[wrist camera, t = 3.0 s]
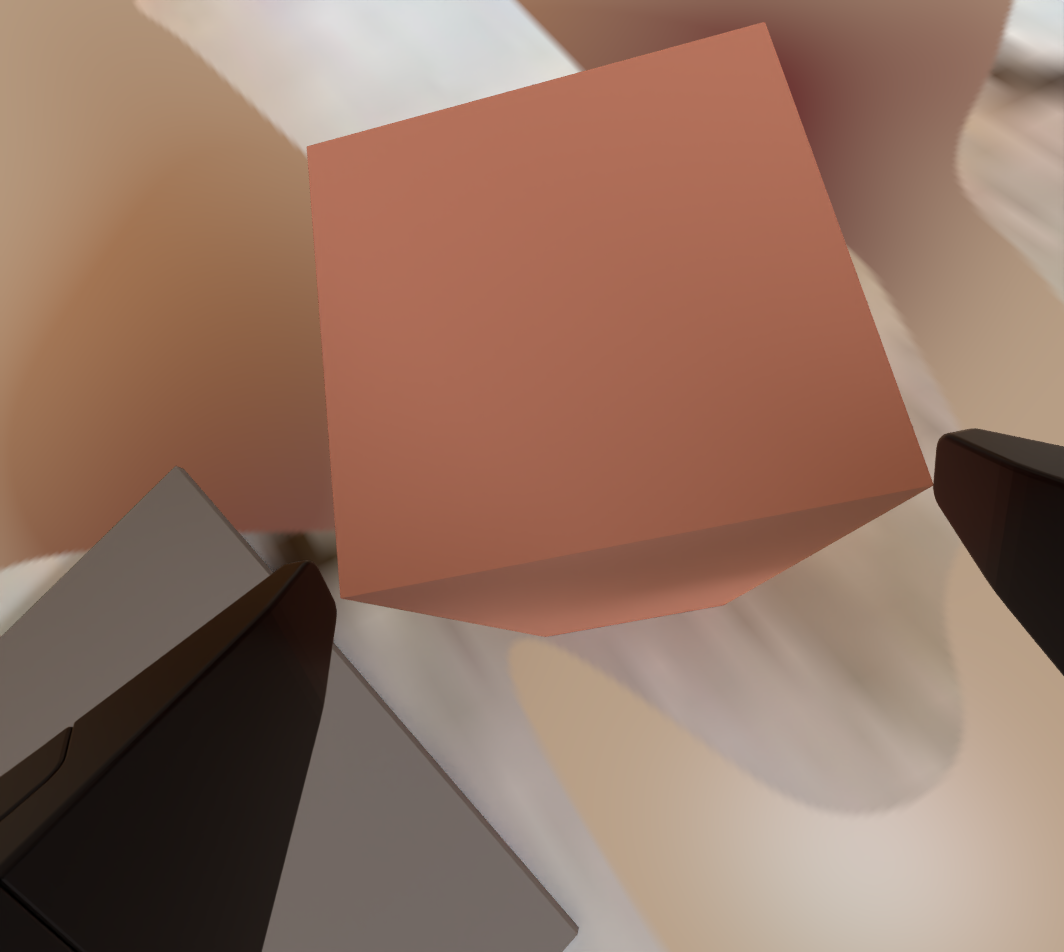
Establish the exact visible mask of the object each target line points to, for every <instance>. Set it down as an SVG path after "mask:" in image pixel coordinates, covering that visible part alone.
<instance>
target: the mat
mask: <svg viewBox="0 0 1064 952" xmlns="http://www.w3.org/2000/svg"><path fill="white" fill-rule="evenodd" d="M272 573H273V572H272V571H271V570H270V569H269V567H268V566H267V565H266V564H265V563H264V562H263V560H262V559H261V558H260V557H259V556H258V555H257V553H256V552H255V551H254V550H253V549H252V548H251V546H250V545H249V544H248V543H247V542H246V541H245V539H244V538H243V537H242V536H241V535H240V534H239V532H238V531H237V530H236V529H235V528H234V527H233V526H232V524H231V523H230V522H229V521H228V520H227V519H226V517H225V516H224V515H223V514H222V513H221V512H220V511H219V509H218V508H217V507H216V506H215V505H214V504H213V502H212V501H211V500H210V499H209V498H208V496H207V495H206V494H205V493H204V492H203V491H202V490H201V488H200V487H199V486H198V485H197V484H196V483H195V481H194V480H193V479H192V478H191V477H190V476H189V475H188V473H187V472H186V471H185V470H184V469H182V468H180V467H177V466H175V467H174V468H173V469H172V470H171V471H170V472H169V473H168V474H167V475H166V476H165V477H164V478H163V479H162V480H161V481H160V482H159V483H158V484H157V485H156V486H155V487H154V488H153V489H152V490H151V491H150V492H149V493H148V494H147V495H145V497H143V498H142V499H141V501H139V503H138V504H136V505H135V506H134V507H133V508H132V509H131V510H130V511H129V512H128V513H127V514H126V515H125V516H124V517H123V518H122V519H121V520H120V521H119V522H118V523H117V524H116V525H115V526H114V527H113V528H112V529H111V530H110V531H109V532H108V533H107V534H106V535H105V536H104V537H103V538H102V539H101V540H100V541H99V542H98V543H97V544H95V545H94V546H93V547H92V548H91V549H90V550H89V551H88V552H87V553H86V554H85V555H84V556H83V557H82V558H81V559H80V560H79V561H78V562H77V563H76V564H75V565H74V566H73V567H72V568H71V569H70V570H69V571H68V572H67V573H66V574H65V575H64V576H63V577H62V578H61V579H60V580H59V581H58V582H57V583H56V584H55V585H54V586H53V587H52V588H51V589H50V590H49V591H47V592H46V593H45V594H44V595H43V596H42V597H41V598H40V599H39V600H38V601H37V602H36V603H35V604H34V605H33V606H32V607H31V608H30V609H29V610H28V611H27V612H26V613H25V614H24V615H23V616H22V617H21V618H20V619H19V620H18V621H17V622H16V623H15V624H14V625H13V626H12V627H11V628H10V629H9V630H8V631H7V632H6V633H5V634H4V635H3V636H2V637H1V638H0V776H2V775H3V774H5V773H6V772H7V771H9V770H10V769H11V768H13V767H14V766H15V765H17V764H18V763H20V762H21V761H22V760H24V759H25V758H26V757H28V756H29V755H30V754H32V753H33V752H35V751H36V750H37V749H39V748H40V747H41V746H43V745H44V744H45V743H47V742H48V741H49V740H51V739H52V738H53V737H55V736H56V735H57V734H59V733H60V732H61V731H63V730H64V729H65V728H67V727H70V726H71V727H73V724H74V722H75V721H76V720H78V719H79V718H80V717H82V716H83V715H84V714H86V713H87V712H88V711H90V710H91V709H92V708H94V707H95V706H96V705H98V704H99V703H100V702H102V701H103V700H104V699H106V698H107V697H108V696H110V695H111V694H112V693H114V692H115V691H116V690H118V689H119V688H120V687H122V686H123V685H124V684H126V683H127V682H128V681H130V680H131V679H132V678H134V677H135V676H136V675H138V674H139V673H140V672H142V671H143V670H144V669H146V668H147V667H148V666H150V665H151V664H152V663H154V662H155V661H156V660H158V659H159V658H160V657H162V656H163V655H164V654H166V653H167V652H168V651H170V650H171V649H172V648H174V647H175V646H176V645H178V644H179V643H180V642H182V641H183V640H184V639H186V638H187V637H188V636H190V635H191V634H192V633H194V632H195V631H196V630H198V629H199V628H200V627H202V626H203V625H204V624H206V623H207V622H208V621H210V620H211V619H212V618H214V617H215V616H216V615H218V614H219V613H220V612H222V611H223V610H224V609H226V608H227V607H228V606H230V605H231V604H232V603H234V602H235V601H236V600H238V599H239V598H240V597H242V596H243V595H244V594H246V593H247V592H248V591H250V590H251V589H252V588H254V587H255V586H256V585H258V584H259V583H260V582H262V581H263V580H264V579H266V578H267V577H268V576H270V575H271V574H272ZM578 929H579V928H578V926H577V925H576V924H575V923H574V922H573V921H572V919H571V918H570V917H569V916H568V915H567V914H566V912H565V911H564V910H563V909H562V908H561V907H560V905H559V904H558V903H557V902H556V901H555V900H554V898H553V897H552V896H551V895H550V894H549V893H548V891H547V890H546V889H545V888H544V887H543V886H542V885H541V883H540V882H539V881H538V880H537V879H536V878H535V876H534V875H533V874H532V873H531V872H530V871H529V869H528V868H527V867H526V866H525V865H524V864H523V862H522V861H521V860H520V859H519V858H518V857H517V855H516V854H515V853H514V852H513V851H512V850H511V849H510V847H509V846H508V845H507V844H506V843H505V842H504V840H503V839H502V838H501V837H500V836H499V835H498V833H497V832H496V831H495V830H494V829H493V828H492V826H491V825H490V824H489V823H488V822H487V821H486V819H485V818H484V817H483V816H482V815H481V814H480V812H479V811H478V810H477V809H476V808H475V807H474V806H473V804H472V803H471V802H470V801H469V800H468V799H467V797H466V796H465V795H464V794H463V793H462V792H461V790H460V789H459V788H458V787H457V786H456V785H455V783H454V782H453V781H452V780H451V779H450V778H449V776H448V775H447V774H446V773H445V772H444V771H443V769H442V768H441V767H440V766H439V765H438V764H437V763H436V761H435V760H434V759H433V758H432V757H431V756H430V754H429V753H428V752H427V751H426V750H425V749H424V747H423V746H422V745H421V744H420V743H419V742H418V740H417V739H416V738H415V737H414V736H413V735H412V733H411V732H410V731H409V730H408V729H407V728H406V727H405V725H404V724H403V723H402V722H401V721H400V720H399V718H398V717H397V716H396V715H395V714H394V713H393V711H392V710H391V709H390V708H389V707H388V706H387V704H386V703H385V702H384V701H383V700H382V699H381V697H380V696H379V695H378V694H377V693H376V692H375V690H374V689H373V688H372V687H371V686H370V685H369V684H368V682H367V681H366V680H365V679H364V678H363V677H362V675H361V674H360V673H359V672H358V671H357V670H356V668H355V667H354V666H353V665H352V664H351V663H350V661H349V660H348V659H347V658H346V657H345V656H344V654H343V653H342V652H341V651H340V650H339V649H338V648H337V646H336V645H335V644H334V643H333V647H332V654H331V662H330V669H329V676H328V684H327V691H326V697H325V703H324V708H323V712H322V716H321V721H320V725H319V729H318V733H317V737H316V741H315V745H314V749H313V752H312V756H311V760H310V764H309V768H308V772H307V776H306V780H305V784H304V788H303V792H302V796H301V800H300V804H299V808H298V812H297V816H296V819H295V823H294V827H293V831H292V835H291V839H290V843H289V847H288V851H287V855H286V859H285V863H284V867H283V871H282V875H281V879H280V882H279V886H278V890H277V894H276V898H275V902H274V906H273V910H272V914H271V918H270V922H269V926H268V930H267V934H266V938H265V942H264V946H263V949H262V952H562V951H563V950H564V949H565V948H566V947H567V946H568V945H569V943H570V942H571V941H572V940H573V939H574V938H575V936H576V935H577V933H578Z"/></svg>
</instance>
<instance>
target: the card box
mask: <svg viewBox="0 0 1064 952" xmlns="http://www.w3.org/2000/svg"><path fill="white" fill-rule="evenodd" d="M307 156H308V169H309V181H310V182H309V183H310V195H311V207H312V208H311V209H312V223H313V236H314V249H315V263H316V276H317V289H318V303H319V316H320V330H321V343H322V356H323V369H324V383H325V397H326V410H327V423H328V436H329V450H330V463H331V477H332V489H333V503H334V517H335V530H336V544H337V557H338V570H339V584H340V597H341V598H342V599H347V600H352V601H358V602H363V603H368V604H374V605H379V606H384V607H390V608H395V609H400V610H406V611H411V612H416V613H421V614H427V615H432V616H437V617H443V618H448V619H453V620H459V621H464V622H469V623H475V624H480V625H485V626H490V627H496V628H501V629H506V630H512V631H517V632H522V633H528V634H533V635H538V636H544V637H547V636H553V635H558V634H564V633H570V632H575V631H581V630H587V629H592V628H598V627H604V626H609V625H615V624H620V623H626V622H632V621H637V620H643V619H649V618H654V617H660V616H665V615H671V614H677V613H682V612H688V611H694V610H699V609H705V608H711V607H716V606H722V605H725V604H727V603H728V602H730V601H732V600H734V599H735V598H737V597H739V596H741V595H742V594H744V593H746V592H748V591H749V590H751V589H753V588H755V587H756V586H758V585H760V584H762V583H763V582H765V581H767V580H769V579H770V578H772V577H774V576H776V575H777V574H779V573H781V572H783V571H784V570H786V569H788V568H790V567H791V566H793V565H795V564H797V563H798V562H800V561H802V560H804V559H805V558H807V557H809V556H811V555H812V554H814V553H816V552H818V551H819V550H821V549H823V548H825V547H826V546H828V545H830V544H832V543H833V542H835V541H837V540H839V539H840V538H842V537H844V536H846V535H847V534H849V533H851V532H853V531H854V530H856V529H858V528H860V527H861V526H863V525H865V524H867V523H868V522H870V521H872V520H874V519H875V518H877V517H879V516H881V515H882V514H884V513H886V512H888V511H889V510H891V509H893V508H895V507H896V506H898V505H900V504H902V503H903V502H905V501H907V500H909V499H910V498H912V497H914V496H916V495H917V494H919V493H921V492H923V491H924V490H926V489H928V488H930V487H931V486H933V482H932V479H931V476H930V474H929V471H928V468H927V465H926V463H925V460H924V457H923V454H922V452H921V449H920V446H919V444H918V441H917V438H916V435H915V433H914V430H913V427H912V424H911V422H910V419H909V416H908V413H907V411H906V408H905V405H904V402H903V400H902V397H901V394H900V391H899V389H898V386H897V383H896V380H895V378H894V375H893V372H892V369H891V367H890V364H889V361H888V358H887V356H886V353H885V350H884V347H883V345H882V342H881V339H880V337H879V334H878V331H877V328H876V326H875V323H874V320H873V317H872V315H871V312H870V309H869V306H868V304H867V301H866V298H865V295H864V293H863V290H862V287H861V284H860V282H859V279H858V276H857V273H856V271H855V268H854V265H853V262H852V260H851V257H850V254H849V251H848V249H847V246H846V243H845V241H844V238H843V235H842V232H841V230H840V227H839V224H838V221H837V219H836V216H835V213H834V210H833V208H832V205H831V202H830V200H829V197H828V194H827V191H826V188H825V186H824V183H823V180H822V177H821V175H820V172H819V170H818V166H817V164H816V161H815V159H814V156H813V153H812V151H811V147H810V144H809V142H808V139H807V136H806V134H805V131H804V128H803V125H802V123H801V120H800V117H799V114H798V112H797V109H796V106H795V103H794V101H793V98H792V95H791V92H790V90H789V87H788V84H787V81H786V79H785V76H784V73H783V71H782V68H781V65H780V62H779V59H778V57H777V54H776V51H775V48H774V46H773V43H772V40H771V38H770V35H769V32H768V29H767V27H766V24H765V22H763V23H759V24H755V25H752V26H748V27H744V28H741V29H737V30H733V31H730V32H726V33H722V34H719V35H715V36H711V37H708V38H704V39H700V40H697V41H693V42H689V43H686V44H682V45H678V46H675V47H671V48H667V49H664V50H660V51H656V52H653V53H649V54H645V55H642V56H638V57H634V58H631V59H627V60H623V61H620V62H616V63H612V64H609V65H605V66H601V67H598V68H594V69H590V70H586V71H583V72H579V73H575V74H572V75H568V76H564V77H561V78H557V79H553V80H550V81H546V82H542V83H539V84H535V85H531V86H528V87H524V88H520V89H517V90H513V91H509V92H506V93H502V94H498V95H495V96H491V97H487V98H483V99H480V100H476V101H472V102H469V103H465V104H461V105H458V106H454V107H450V108H447V109H443V110H439V111H436V112H432V113H428V114H425V115H421V116H417V117H414V118H410V119H406V120H403V121H399V122H395V123H392V124H388V125H384V126H381V127H377V128H373V129H370V130H366V131H362V132H359V133H355V134H351V135H347V136H344V137H340V138H336V139H333V140H329V141H325V142H322V143H318V144H314V145H311V146H307Z"/></svg>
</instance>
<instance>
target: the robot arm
mask: <svg viewBox="0 0 1064 952" xmlns="http://www.w3.org/2000/svg"><path fill="white" fill-rule="evenodd" d="M933 490H934V495H935V499H936V501H937V503H938V505H939V507H940V509H941V510H942V512H943V513H944V515H945V516H946V518H947V519H948V521H949V522H950V524H951V526H952V527H953V529H954V530H955V532H956V533H957V535H958V536H959V538H960V540H961V541H962V543H963V544H964V546H965V547H966V549H967V550H968V552H969V553H970V555H971V557H972V558H973V559H974V561H975V563H976V564H977V566H978V567H979V569H980V570H981V572H982V574H983V575H984V577H985V578H986V580H987V581H988V582H989V584H990V585H991V587H992V588H993V589H994V591H995V592H996V594H997V595H998V596H999V597H1000V599H1001V600H1002V601H1003V603H1004V604H1005V605H1006V606H1007V608H1008V609H1009V610H1010V611H1011V613H1012V614H1013V615H1014V616H1015V617H1016V619H1017V620H1018V621H1019V622H1020V623H1021V625H1022V626H1023V627H1024V628H1025V629H1026V631H1027V632H1028V633H1029V634H1030V635H1031V637H1032V638H1033V639H1034V640H1035V642H1036V643H1037V644H1038V645H1039V647H1040V648H1041V649H1042V650H1043V651H1044V653H1045V654H1046V655H1047V656H1048V657H1049V659H1050V660H1051V661H1052V662H1053V663H1054V665H1055V666H1056V667H1057V668H1058V670H1059V671H1060V672H1061V673H1062V674H1063V676H1064V447H1063V446H1059V445H1054V444H1049V443H1044V442H1040V441H1035V440H1030V439H1025V438H1020V437H1015V436H1010V435H1006V434H1001V433H996V432H991V431H986V430H981V429H966V430H961V431H956V432H951V433H947V434H944V435H943V436H942V437H941V438H940V439H939V441H938V443H937V448H936V460H935V472H934V483H933ZM336 617H337V610H336V605H335V601H334V599H333V597H332V595H331V593H330V591H329V589H328V587H327V585H326V583H325V581H324V579H323V577H322V575H321V573H320V570H319V568H318V567H317V565H316V564H315V563H314V562H312V561H310V560H304V561H299V562H294V563H289V564H285V565H283V566H282V567H280V568H279V569H278V570H276V571H275V572H274V573H272V574H271V575H270V576H268V577H267V578H266V579H264V580H263V581H262V582H260V583H259V584H258V585H256V586H255V587H254V588H252V589H251V590H250V591H248V592H247V593H246V594H244V595H243V596H242V597H240V598H239V599H238V600H236V601H235V602H234V603H232V604H231V605H230V606H228V607H227V608H226V609H224V610H223V611H222V612H220V613H219V614H218V615H216V616H215V617H214V618H212V619H211V620H210V621H208V622H207V623H206V624H204V625H203V626H202V627H200V628H199V629H198V630H196V631H195V632H194V633H192V634H191V635H190V636H188V637H187V638H186V639H184V640H183V641H182V642H180V643H179V644H178V645H176V646H175V647H174V648H172V649H171V650H170V651H168V652H167V653H166V654H164V655H163V656H162V657H160V658H159V659H158V660H156V661H155V662H154V663H152V664H151V665H150V666H148V667H147V668H146V669H144V670H143V671H142V672H140V673H139V674H138V675H136V676H135V677H134V678H132V679H131V680H130V681H128V682H127V683H126V684H124V685H123V686H122V687H120V688H119V689H118V690H116V691H115V692H114V693H112V694H111V695H110V696H108V697H107V698H106V699H104V700H103V701H102V702H100V703H99V704H98V705H96V706H95V707H94V708H92V709H91V710H90V711H88V712H87V713H86V714H84V715H83V716H82V717H80V718H79V719H78V720H76V721H75V722H74V724H73V727H71V726H70V727H67V728H65V729H64V730H63V731H61V732H60V733H59V734H57V735H56V736H55V737H53V738H52V739H51V740H49V741H48V742H47V743H45V744H44V745H43V746H41V747H40V748H39V749H37V750H36V751H35V752H33V753H32V754H30V755H29V756H28V757H26V758H25V759H24V760H22V761H21V762H20V763H18V764H17V765H15V766H14V767H13V768H11V769H10V770H9V771H7V772H6V773H5V774H3V775H2V776H0V952H262V949H263V946H264V942H265V938H266V934H267V930H268V926H269V922H270V918H271V914H272V910H273V906H274V902H275V898H276V894H277V890H278V886H279V882H280V879H281V875H282V871H283V867H284V863H285V859H286V855H287V851H288V847H289V843H290V839H291V835H292V831H293V827H294V823H295V819H296V816H297V812H298V808H299V804H300V800H301V796H302V792H303V788H304V784H305V780H306V776H307V772H308V768H309V764H310V760H311V756H312V752H313V749H314V745H315V741H316V737H317V733H318V729H319V725H320V721H321V716H322V712H323V708H324V703H325V697H326V691H327V684H328V676H329V669H330V662H331V654H332V647H333V640H334V632H335V625H336Z"/></svg>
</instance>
